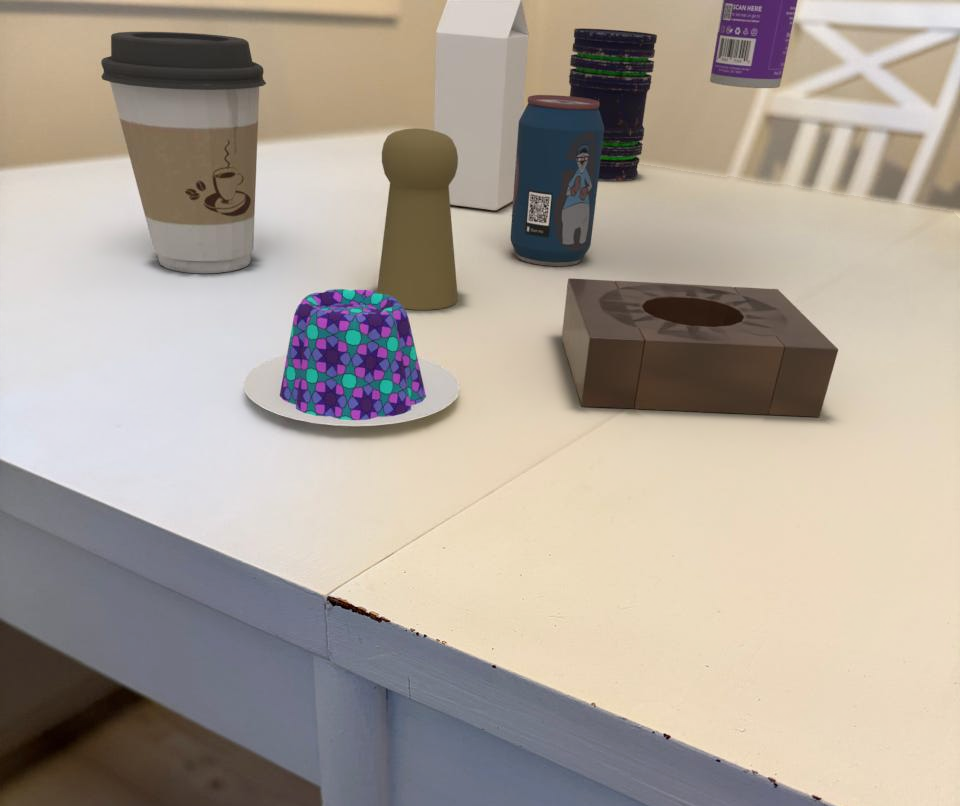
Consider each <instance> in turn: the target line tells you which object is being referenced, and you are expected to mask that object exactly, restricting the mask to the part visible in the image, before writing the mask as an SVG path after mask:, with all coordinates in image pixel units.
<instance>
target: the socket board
mask: <svg viewBox="0 0 960 806" xmlns="http://www.w3.org/2000/svg"><path fill="white" fill-rule="evenodd" d="M561 341H562V344H563V347H564V350H565V351H564V352H565V354H566V355H565V356H566V359H567V360H568V365H569V368H570V372H571V375H572V378H573V382H574V385H575V388H576V392H577V396H578V399H579V402H580V405H581V406H582V407H593V408H614V409H615V408H617V409H636V410H654V411H655V410H657V411H677V412H678V411H679V412H701V413H725V414H744V415H745V414H748V415H769V416H792V417H793V416H794V417H812V418H813V417H816V418H818V417H820V416H821V414H822V410H823V405H824V402H825V399H826V395H827V393H828V388H829V385H830V382H831V377H832V374H833V371H834V367H835V364H836V360H837V356H838V352H839V348H838V347H837V346H835V344H834V343H833V342H832V341H831V340H830V339H829V338H828V337H826V335H825V334H823V332H822V331H821V330H820V329H819V328H817V327H816V326H815V324H813V322H811V320H810V319H808V317H807V316H805V314H804V313H803V312H802V311H801V310H800V309H798V308H797V306H795V304H794V303H793V302H791V301H790V300H789V298H787V297H786V295H784V294H783V293H782V291H780V289H778V288H763V287H762V288H761V287H760V288H759V287H745V286H744V287H743V286H727V285H726V286H724V285H722V286H721V285H707V284H706V285H704V284H687V283H667V282H647V281H631V280H630V281H629V280H606V279H591V278H590V279H588V278H568V279H567V284H566V294H565V304H564V313H563V324H562V332H561Z"/></svg>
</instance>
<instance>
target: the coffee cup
mask: <svg viewBox="0 0 960 806" xmlns="http://www.w3.org/2000/svg"><path fill="white" fill-rule="evenodd" d="M100 64H101V67H102V69H103V73H102V74H101V79H102V81H106V82H109V84H110V87H111V91H112V96H113V98H114V102H115V106H116V111H117V114H118V119H119V122H120V126H121V129H122V134H123V137H124V142H125V145H126V149H127V153H128V156H129V161H130V164H131V167H132V171H133V175H134V179H135V183H136V186H137V190H138V195H139V198H140V202H141V206H142V211H143V213H144V217H145V222H146V225H147V228H148V232H149V237H150V240H151V244H152V248H153V251H154V253H155V254H157V258H158V262H159V264H160V266H162V267H163V268H165V269H169V270H172V271H174V272H181V273H188V274H220V273H227V272H234V271H238V270H242V269H244V268H246V267H248V266H249V265H250V263H251V260H252V252H253V250H254V239H255V237H254V236H255V215H256V209H255V208H256V183H257V161H258V159H257V156H258V135H259V134H258V133H259V107H260V105H259V104H260V87H264V86H265V85H266V84H267V82H266V81H265V79H264V67H263V65H261V64H259V63H258V62H254V61H253V59H252V53H251V47H250V43H249V41H247V40H246V38H245V39H244V38H241V37H236V36H229V35H220V34H207V33H193V32H177V31H176V32H174V31H120V32H119V31H118V32H115V33H112V34H111V35H110V55H109V56H106V57H103V58H102V59H101V62H100Z"/></svg>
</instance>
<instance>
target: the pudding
mask: <svg viewBox="0 0 960 806" xmlns="http://www.w3.org/2000/svg"><path fill="white" fill-rule="evenodd" d="M292 319H293V320H292V324H291V331H290V336H289V341H288V347H287V351H286V352H287V353H286V354H283V355H281V356H277V357H275V358H271V359H270V360H267V361H264V362H263V363H261V364H259V365H258V366H256V367H254V368H253V369H252V370H251V371H250V372H249V373H248V374H247V375H246V377H245V379H244V381H243V390H244V392H245V394H246V396H247V397H248V398H249V399H250V400H251V402H253V403H254V404H256V405H257V406H259V407H261V408H263V409H265V411H269V412H271V413H272V414H273V413H274V414H276V415H278V416H282V417H286V418H289V419H292V420H296V421H302V422H306V423H311V424H317V425H327V426H336V427H374V426H384V425H385V426H387V425H394V424H400V423H404V422H405V423H406V422H410V421H415V420H419V419H421V418H424V417H428V416H431V415H433V414H435V413H438V412H440V411H442V410H444V409H446V408H447V407H449V406H451V404H452V403H453V402H454V401H455V400H456V399H457V398H458V396H459V393H460V392H461V391H460V383H459V381H458V379H457V377H456V376H455V375H454V374H453V373H452V372H451V371H449V370H448V369H446V368H445V367H443V366H442V365H440V364H438V363H436V362H434V361H431V360H429V359H426V358H423V357H420V356H418V355H417V350H416V346H415V345H416V344H415V340H414V337H413V332H412V327H411V324H410V319H409V315H408V313H407V311H406V309H404V307H403V306H402V305H401V304H400V302H399V301H398V300H397V299H395V298H394V297H392V296H389V295H386V294H378V293H377V291H374V290H370V289H369V290H368V289H345V288H344V289H343V288H334V289H327V290H325V291H323V292H313V293H310V294H307V295H306V296H304V298H303V299H301V301H300V303H299V304H298V305H297V307H296V309H295V312H294V315H293V318H292Z"/></svg>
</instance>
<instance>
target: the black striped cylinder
mask: <svg viewBox="0 0 960 806" xmlns="http://www.w3.org/2000/svg"><path fill="white" fill-rule="evenodd" d="M573 38H574V41H573V42H574V43H572V48H571V49H572V50H571V51H572V52H573V53H575V54H571V55H570V60H569V62H570V63H569V66H570V67H573V68H570V70H569V75H568V78H569V79H568V84H569V86H570V88H569V89H570V91H569V96H571V97H580V98H587V99H592V100H596V101H598V102H599V103H600V105H599V108H598V109H599V112H600V115H601V118H602V122H603V125H604V134H603V143H602V152H601V160H600V169H599V178H598V181H605V182H624V181H625V182H626V181H632V180H635V179H637V178H638V173H639V171H638V165H639V164H640V158H639V157H638V156H641V155H642V151H643V145H644V144H643V143H642V141H643V140H644V136H645V128H644V126H643V125H644V118H645V117H644V116H645V112H646V111H645V110H646V103H647V97H648V92H649V90H650V89H651V84H652V77H653V75H651V74H650V73H653V72H654V67H655V60H651V59H654V58H655V53H656V50H655V45H656V43H657V40H658V34H655V33H650V32H649V33H648V32H640V31H629V30H617V29H605V28H604V29H603V28H583V27H581V28H574V30H573ZM648 73H649V74H648Z"/></svg>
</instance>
